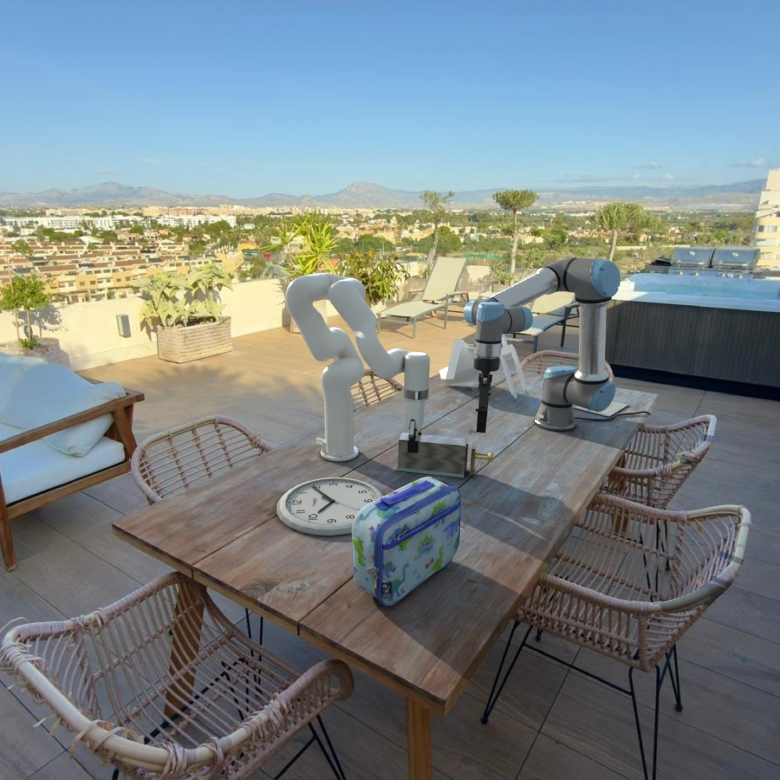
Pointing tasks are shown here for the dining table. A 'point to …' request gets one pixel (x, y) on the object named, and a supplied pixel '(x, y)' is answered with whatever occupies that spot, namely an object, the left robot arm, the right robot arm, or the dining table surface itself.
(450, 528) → the lunch box
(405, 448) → the cabinet
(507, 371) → the white plastic object
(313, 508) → the wall clock
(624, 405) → the invitation card
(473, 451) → the drawer
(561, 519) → the dining table surface
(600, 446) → the dining table surface
